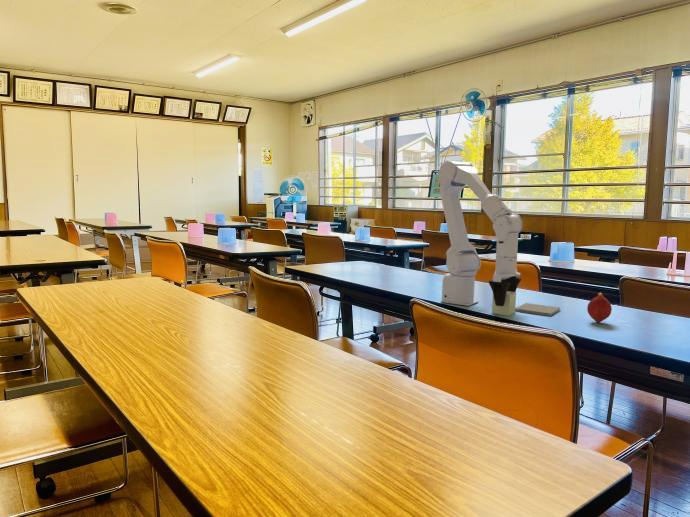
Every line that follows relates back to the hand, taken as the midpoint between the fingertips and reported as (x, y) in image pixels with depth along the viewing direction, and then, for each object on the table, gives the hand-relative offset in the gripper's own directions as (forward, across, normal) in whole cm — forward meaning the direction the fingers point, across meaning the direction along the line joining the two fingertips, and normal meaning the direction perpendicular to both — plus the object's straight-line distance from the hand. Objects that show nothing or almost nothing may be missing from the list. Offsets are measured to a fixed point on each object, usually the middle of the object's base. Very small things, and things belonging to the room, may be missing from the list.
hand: (504, 303), depth 146 cm
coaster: (+3, +9, -7) cm, 12 cm away
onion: (+3, +5, -24) cm, 25 cm away
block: (+3, 0, 0) cm, 3 cm away
